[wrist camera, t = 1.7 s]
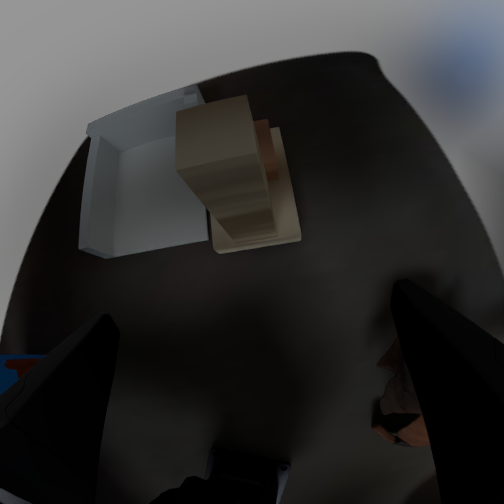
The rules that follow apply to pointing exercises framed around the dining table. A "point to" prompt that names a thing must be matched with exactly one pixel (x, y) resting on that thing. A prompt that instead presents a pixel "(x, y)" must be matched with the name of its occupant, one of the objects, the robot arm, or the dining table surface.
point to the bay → (139, 181)
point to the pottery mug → (401, 401)
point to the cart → (237, 174)
